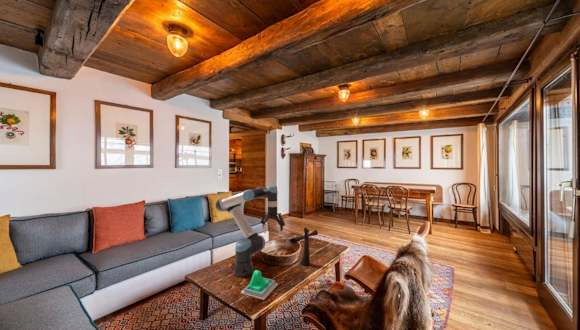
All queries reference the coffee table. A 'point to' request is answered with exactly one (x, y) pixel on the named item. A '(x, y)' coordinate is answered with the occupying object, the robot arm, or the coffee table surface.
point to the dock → (260, 294)
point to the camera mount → (258, 281)
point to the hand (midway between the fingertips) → (272, 233)
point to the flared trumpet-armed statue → (305, 245)
